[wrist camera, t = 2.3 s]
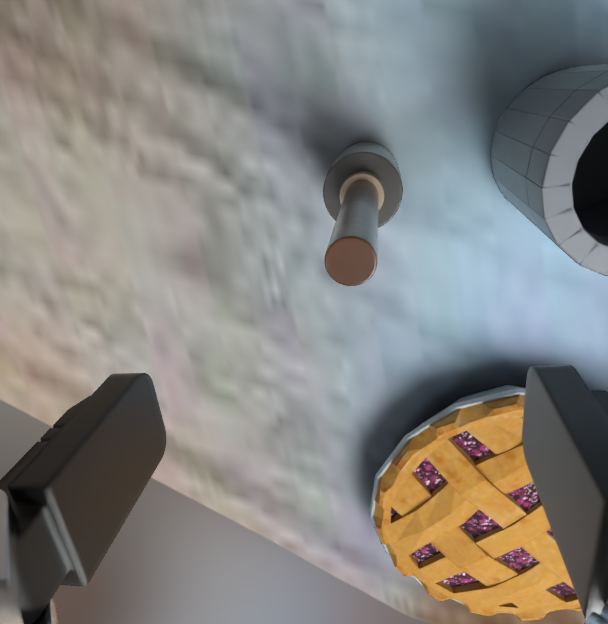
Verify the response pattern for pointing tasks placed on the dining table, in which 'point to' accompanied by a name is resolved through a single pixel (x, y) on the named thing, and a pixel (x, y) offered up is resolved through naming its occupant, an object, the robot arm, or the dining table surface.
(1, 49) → the dining table surface
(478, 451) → the pie
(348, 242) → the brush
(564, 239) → the grey cup
